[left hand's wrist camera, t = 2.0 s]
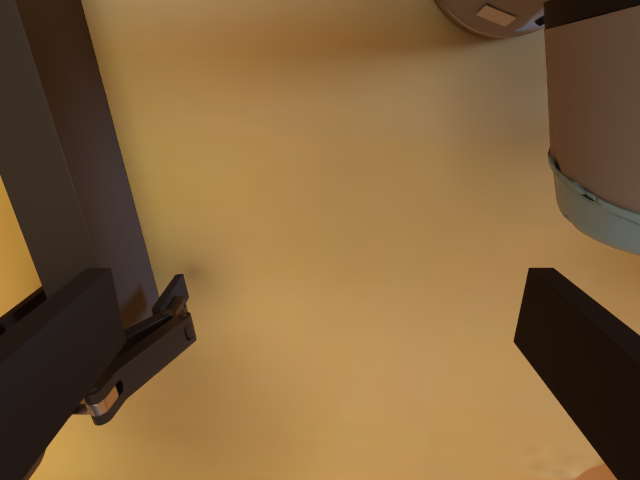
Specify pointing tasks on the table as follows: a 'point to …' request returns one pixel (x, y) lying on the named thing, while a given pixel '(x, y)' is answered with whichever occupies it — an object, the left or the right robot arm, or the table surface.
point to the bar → (66, 155)
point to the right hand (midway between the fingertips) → (116, 291)
